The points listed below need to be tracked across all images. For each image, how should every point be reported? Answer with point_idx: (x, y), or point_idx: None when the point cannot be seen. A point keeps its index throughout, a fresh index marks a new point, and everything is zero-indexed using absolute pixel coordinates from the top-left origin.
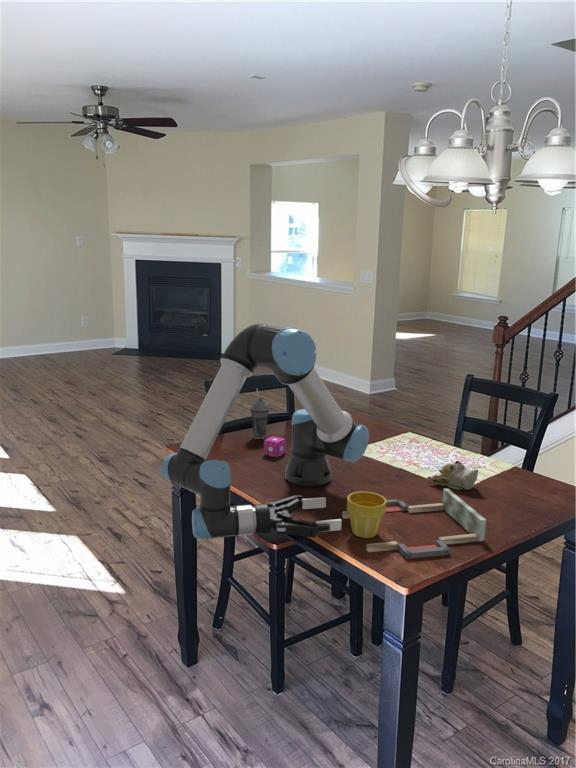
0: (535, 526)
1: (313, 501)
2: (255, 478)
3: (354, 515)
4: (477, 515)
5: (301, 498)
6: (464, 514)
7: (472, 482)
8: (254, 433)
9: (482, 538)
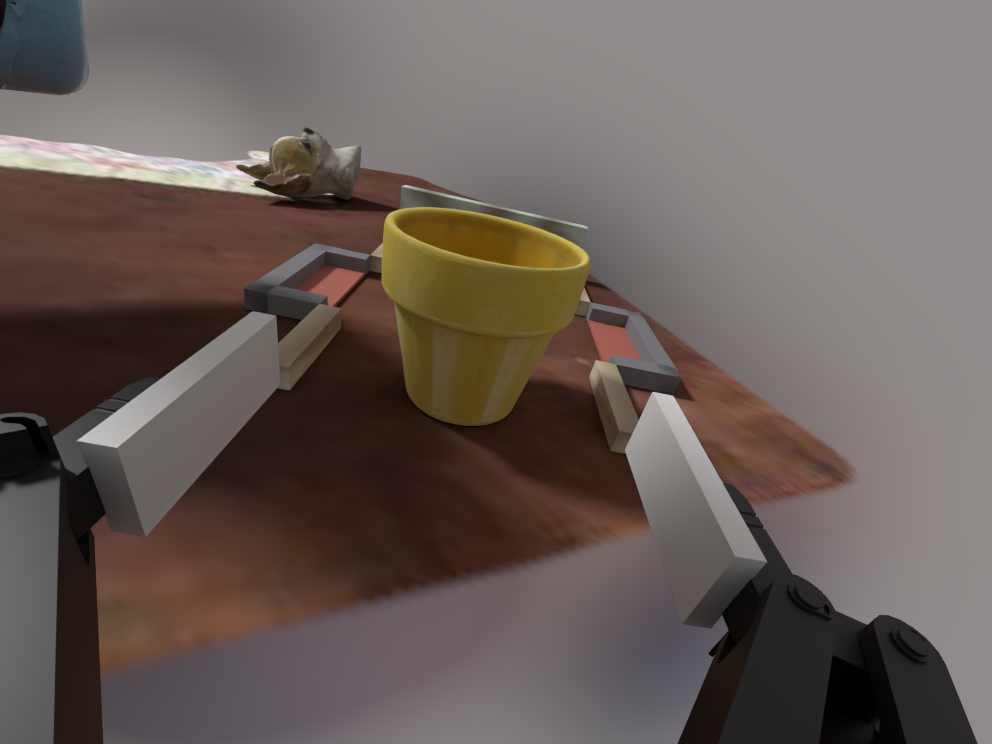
0: None
1: (212, 391)
2: None
3: (530, 337)
4: (562, 222)
5: (53, 442)
6: None
7: (357, 178)
8: None
9: None
